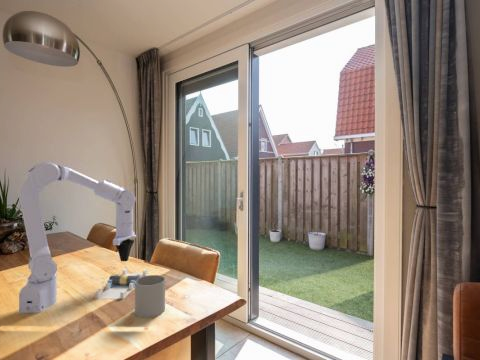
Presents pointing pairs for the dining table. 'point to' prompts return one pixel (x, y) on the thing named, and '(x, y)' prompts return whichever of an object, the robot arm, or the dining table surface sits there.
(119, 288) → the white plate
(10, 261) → the dining table surface
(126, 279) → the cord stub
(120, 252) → the robot arm
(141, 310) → the cup
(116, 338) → the dining table surface
